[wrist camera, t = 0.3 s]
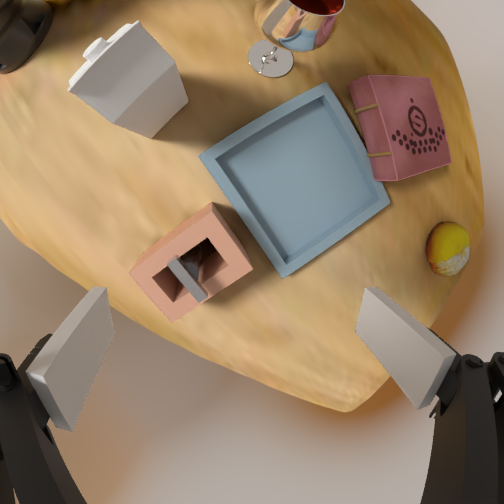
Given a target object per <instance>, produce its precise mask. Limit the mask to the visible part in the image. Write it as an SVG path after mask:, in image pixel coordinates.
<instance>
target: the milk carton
mask: <svg viewBox="0 0 504 504" xmlns="http://www.w3.org/2000/svg"><path fill="white" fill-rule="evenodd" d="M83 57H84V58H85V59H87V61H86V62H85V63H84V64H83V65H82V66H81V67H80V69H79V70H78V71H77V72H76V73H75V74H74V75H73V77H72V78H71V79H70V80H69V84H70V87H69V89H68V91H69V92H71V93H73V94H75V95H76V96H78V97H79V98H80V99H82V100H83V101H84V102H85V103H87V104H88V105H89V106H91V107H92V108H93V109H95V110H96V111H97V112H98V113H100V114H101V115H102V116H104V117H105V118H106V119H107V120H109V121H110V122H111V123H113V124H116V125H118V126H121V127H123V128H126V129H128V130H130V131H133V132H135V133H138V134H140V135H142V136H145V137H147V138H150V139H151V138H152V137H153V136H154V135H155V134H156V133H157V132H158V131H159V130H160V129H161V128H162V127H163V126H164V125H165V124H166V123H167V122H168V121H169V120H170V119H171V118H172V117H173V116H174V115H175V114H176V113H177V112H178V111H179V110H180V109H182V108H183V107H184V106H185V105H186V104H187V103H188V102H189V100H188V97H187V95H186V92H185V89H184V86H183V83H182V80H181V77H180V74H179V72H178V69H177V66H176V63H175V61H174V60H173V59H172V58H171V56H170V55H169V54H168V53H167V52H166V51H165V50H164V49H163V48H162V47H161V46H160V44H159V43H158V42H157V41H156V40H155V39H154V38H153V37H152V36H151V35H150V34H149V33H148V32H147V31H146V30H145V29H144V28H143V27H142V25H141V23H140V21H139V20H138V21H136V22H135V23H134V24H125V25H124V26H123V27H122V28H120V29H119V30H118V31H117V32H116V33H115V34H114V35H112V36H111V37H110V38H109V39H108V40H107V41H105V40H104V39H103V38H98V39H97V40H95V41H94V42H93V43H92V44H91V45H90V46H89V47H88V48H87V49H86V50H85V52H84V53H83Z"/></svg>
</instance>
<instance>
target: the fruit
mask: <svg viewBox="0 0 504 504" xmlns="http://www.w3.org/2000/svg"><path fill="white" fill-rule="evenodd" d="M469 246H470V239H469V235H468V232H467V231H466V230H465V229H464V228H463V227H462V226H461V225H459V224H457V223H455V222H441V223H438V224H437V225H436V226H435V227H434V228H433V229H432V231H431V233H430V234H429V237H428V239H427V243H426V246H425V247H426V249H425V250H426V252H425V253H426V255H427V259H428V261H429V262H430V265H431V268H432V270H433V271H434V272H435V273H436V274H438V275H441V276H446V277H450V276H452V275H455V274H457V273H458V272H459V271H460V269H462V268H463V267H464V265H465V264H466V262H467V260H468V259H469V255H470V248H469Z"/></svg>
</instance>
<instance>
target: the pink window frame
mask: <svg viewBox="0 0 504 504" xmlns="http://www.w3.org/2000/svg"><path fill="white" fill-rule="evenodd" d="M207 237H208V239H209V240H210V241H211V243H212V244H213V245H214V247H215V248H216V249H217V251H216V252H215V253H213V254H212V255H211V256H209V257H208V258H206V259H205V260H203V261H202V262H200V267H199V277H198V281H199V282H200V284H201V285H202V286H203V287H204V288H205V290H206V291H207V292H208V297H207V298H206V299H204V300H203V301H201V302H200V303H198V302H197V301H196V299H195V298H194V297H193V296H192V295H191V293H190V292H189V291H188V290H187V289H186V288H185V286H184V285H183V284H181V283H180V281H179V279H178V278H177V277H176V275H175V274H174V273H173V272H172V270H171V269H170V268H169V267H168V266H167V263H168V260H170V259H171V258H173V257H174V256H175V255H178V256H179V257H180V256H182V255H183V254H184V253H186V252H187V251H189V250H190V249H191V248H193V247H194V246H196V245H197V244H198V243H200V242H201V241H203V240H204V239H206V238H207ZM251 270H253V267H252V265H251V262H250V260H249V257H248V255H247V252H246V250H245V248H244V246H243V245H242V244H241V242H240V241H239V239H238V238H237V237H236V235H235V234H234V232H233V231H232V230H231V228H230V227H229V225H228V224H227V222H226V221H225V220H224V218H223V217H222V215H221V214H220V213H219V211H218V210H217V208H216V207H215V206H214V204H213V203H212V202H211V203H210V204H208V205H207V206H205V207H204V208H203V209H201V210H200V211H198V212H197V213H195V214H194V215H193V216H191V217H190V218H189V219H187V220H186V221H184V222H183V223H182V224H180V225H179V226H178V227H176V228H175V229H174V230H172V231H171V232H170V233H168V234H167V235H165V236H164V237H163V238H162V239H160V240H159V241H158V242H156V243H155V244H154V245H152V246H151V247H150V248H148V249H147V250H146V251H145V252H143V254H142V255H141V256H140V258H139V259H138V261H137V262H136V263H135V265H134V266H133V268H132V269H131V270H130V272H129V273H128V274H129V275H130V276H131V277H132V278H133V280H134V281H135V282H136V283H137V284H138V286H139V287H140V288H141V289H142V290H143V291H144V293H145V294H146V295H147V296H148V297H149V298H150V300H151V301H152V302H153V303H154V304H155V305H156V306H157V307H158V309H159V310H160V311H161V312H162V313H163V314H164V315H165V316H166V317H167V318H168V320H169V321H170V322H171V323H172V322H174V321H175V320H177V319H178V318H180V317H182V316H183V315H185V314H186V313H188V312H189V311H191V310H192V309H194V308H195V307H197V306H198V305H200V304H201V303H203V302H205V301H206V300H208V299H209V298H211V297H212V296H214V295H215V294H217V293H218V292H220V291H221V290H223V289H224V288H226V287H227V286H229V285H230V284H232V283H233V282H235V281H236V280H238V279H239V278H241V277H242V276H244V275H245V274H247V273H248V272H250V271H251Z"/></svg>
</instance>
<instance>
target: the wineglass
mask: <svg viewBox="0 0 504 504" xmlns="http://www.w3.org/2000/svg"><path fill="white" fill-rule="evenodd" d="M344 5H345V0H259V1H258V3H257V5H256V7H255V11H254V21H255V24H256V27H257V29H258V31H259V32H260V34H261V35H262V36H263V37H264V38H265V39H266V40H262V41H259V42H257V43H255V44H254V45H253V46H252V47H251V48H250V50H249V52H248V62H249V64H250V66H251V67H252V69H253V70H254V71H255V72H257V73H258V74H260V75H262V76H265V77H271V78H275V77H280V76H283V75H285V74H286V73H287V72H289V70H290V69H291V67H292V65H293V56H292V54H291V52H309V51H313V50H316V49H318V48H320V47H322V46H323V45H325V44H326V43H327V42H328V41H329V40H330V39H331V38H332V36H333V34H334V33H335V31H336V28H337V26H338V23H339V20H340V18H341V15H342V12H343V8H344ZM290 51H291V52H290Z"/></svg>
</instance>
